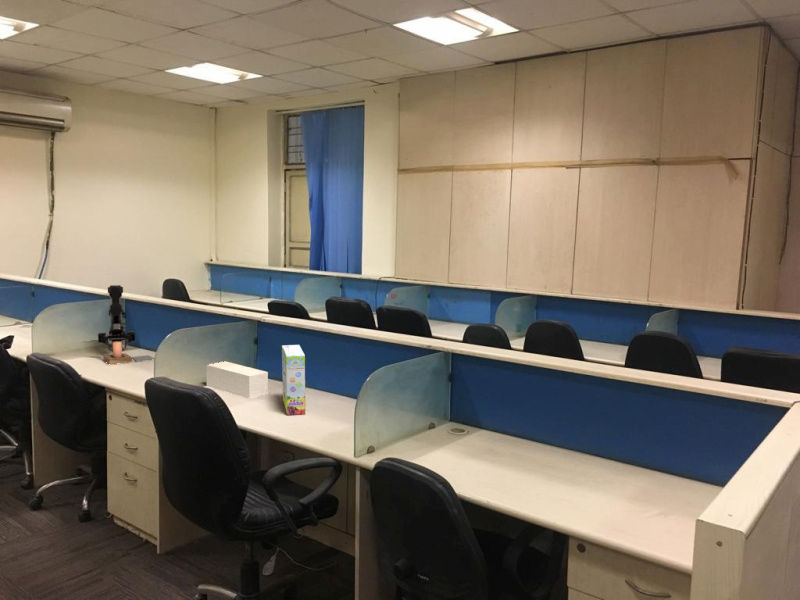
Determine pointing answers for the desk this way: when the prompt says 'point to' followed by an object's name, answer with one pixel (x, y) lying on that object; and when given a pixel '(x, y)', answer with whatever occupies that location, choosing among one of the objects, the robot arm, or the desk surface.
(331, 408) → the desk surface
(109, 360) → the walnut pocket block
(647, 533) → the desk surface
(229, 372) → the stack of papers
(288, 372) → the snack box
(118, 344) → the terracotta peg
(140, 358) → the rubber mat
